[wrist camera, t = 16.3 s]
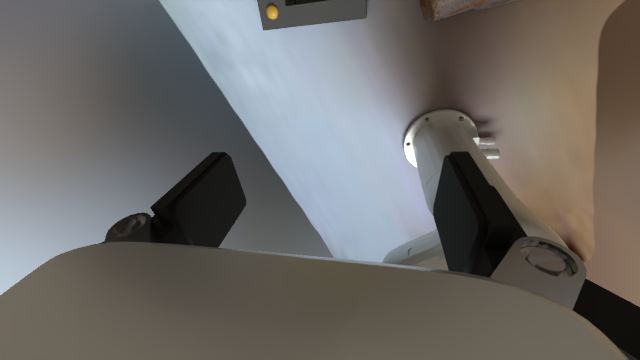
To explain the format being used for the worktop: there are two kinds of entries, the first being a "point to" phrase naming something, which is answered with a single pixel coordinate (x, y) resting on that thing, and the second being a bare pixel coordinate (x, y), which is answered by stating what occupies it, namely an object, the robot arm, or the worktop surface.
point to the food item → (455, 7)
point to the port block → (309, 12)
